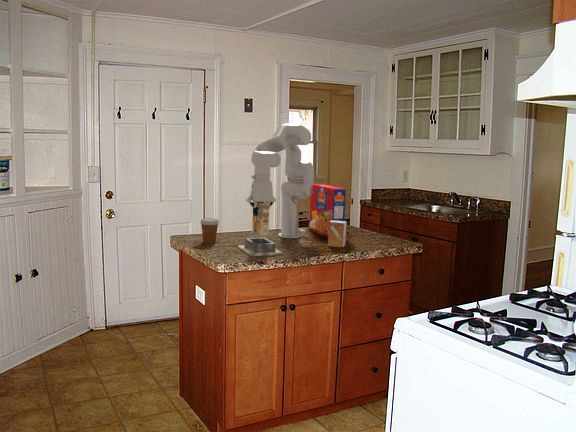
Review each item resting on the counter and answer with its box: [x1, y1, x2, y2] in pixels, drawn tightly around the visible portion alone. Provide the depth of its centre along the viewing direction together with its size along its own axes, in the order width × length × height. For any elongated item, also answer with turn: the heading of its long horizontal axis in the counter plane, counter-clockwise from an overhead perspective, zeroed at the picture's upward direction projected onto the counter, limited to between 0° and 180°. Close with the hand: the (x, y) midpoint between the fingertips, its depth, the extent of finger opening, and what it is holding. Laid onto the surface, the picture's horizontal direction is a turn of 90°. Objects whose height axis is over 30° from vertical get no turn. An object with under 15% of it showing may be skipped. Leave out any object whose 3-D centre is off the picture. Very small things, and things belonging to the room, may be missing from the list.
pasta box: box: [308, 183, 347, 238], centre depth 322 cm, size 28×8×28 cm, turn 24°
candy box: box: [251, 202, 271, 236], centre depth 266 cm, size 9×4×15 cm, turn 37°
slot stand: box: [237, 237, 283, 257], centre depth 269 cm, size 16×20×5 cm
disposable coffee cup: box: [200, 217, 220, 245], centre depth 284 cm, size 10×10×12 cm
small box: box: [327, 220, 348, 248], centre depth 288 cm, size 8×6×13 cm
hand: (260, 215), depth 266 cm, fingers closed on candy box, 5 cm apart
